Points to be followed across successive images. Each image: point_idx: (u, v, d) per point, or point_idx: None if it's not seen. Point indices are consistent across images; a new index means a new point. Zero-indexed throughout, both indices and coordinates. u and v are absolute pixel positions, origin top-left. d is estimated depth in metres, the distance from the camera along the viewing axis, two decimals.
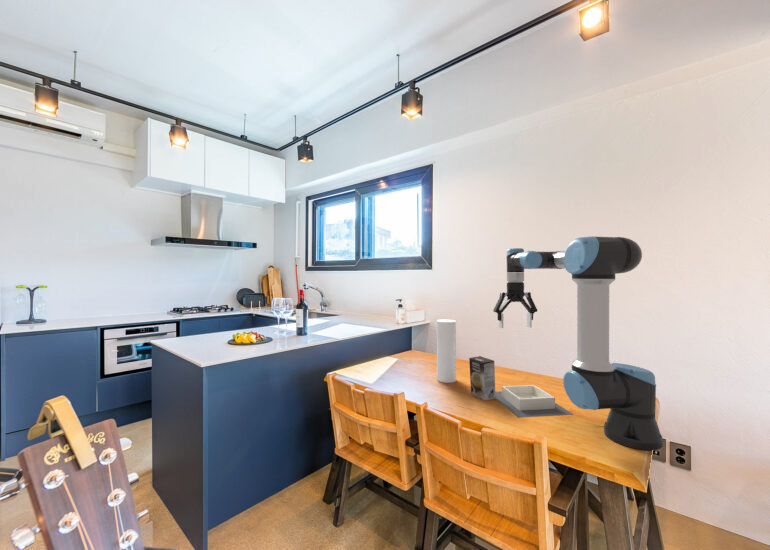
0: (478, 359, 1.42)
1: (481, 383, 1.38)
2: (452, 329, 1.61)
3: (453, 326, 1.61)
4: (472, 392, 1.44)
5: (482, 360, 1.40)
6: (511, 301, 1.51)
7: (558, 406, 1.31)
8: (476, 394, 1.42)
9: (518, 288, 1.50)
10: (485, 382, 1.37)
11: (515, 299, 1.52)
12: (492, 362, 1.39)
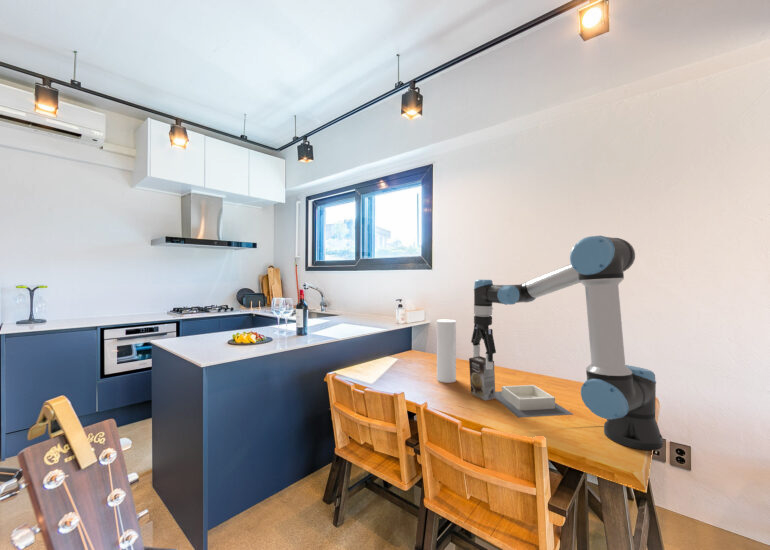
0: (478, 359, 1.41)
1: (481, 383, 1.38)
2: (452, 329, 1.61)
3: (453, 326, 1.61)
4: (472, 392, 1.44)
5: (482, 360, 1.40)
6: (476, 334, 1.45)
7: (558, 406, 1.31)
8: (476, 394, 1.42)
9: (474, 322, 1.42)
10: (485, 382, 1.37)
11: (479, 333, 1.43)
12: None
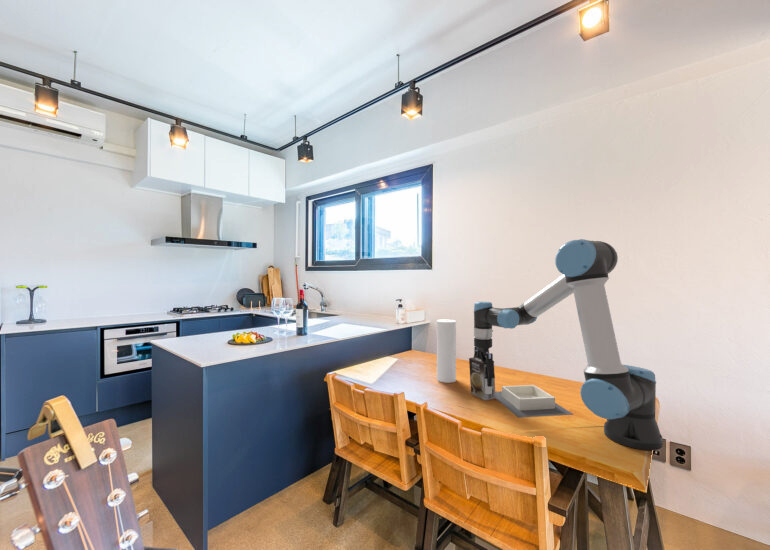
0: (478, 359, 1.41)
1: (481, 383, 1.38)
2: (452, 329, 1.61)
3: (453, 326, 1.61)
4: (472, 392, 1.44)
5: None
6: (477, 357, 1.44)
7: (558, 406, 1.31)
8: (476, 394, 1.42)
9: (474, 344, 1.42)
10: None
11: (480, 355, 1.43)
12: None
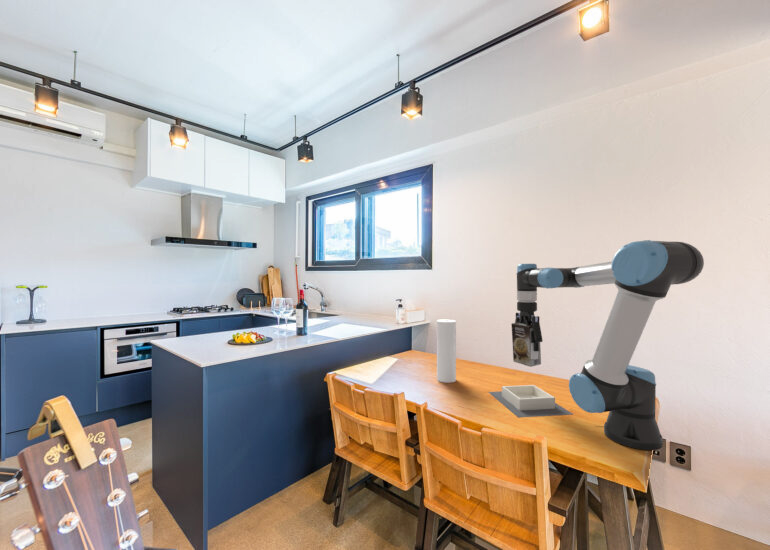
0: (522, 324, 1.34)
1: (526, 348, 1.31)
2: (452, 329, 1.61)
3: (453, 326, 1.61)
4: (515, 359, 1.36)
5: (526, 325, 1.32)
6: None
7: (558, 406, 1.31)
8: (520, 361, 1.34)
9: (517, 308, 1.35)
10: None
11: (523, 320, 1.35)
12: None
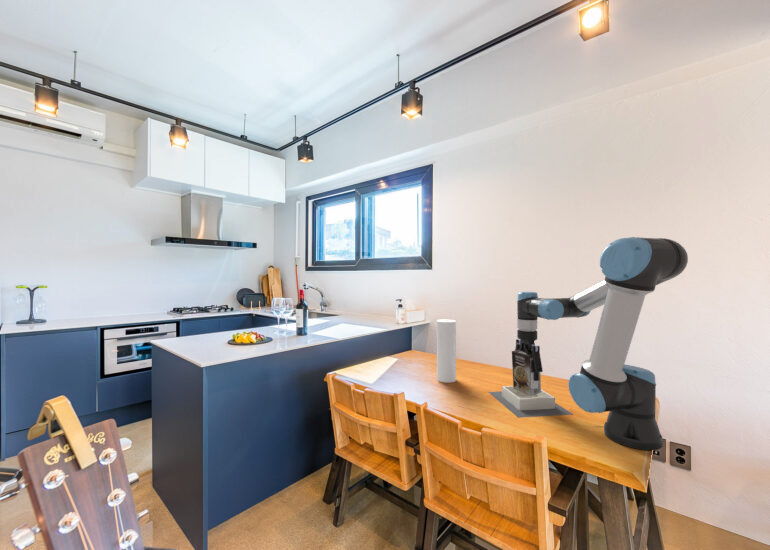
0: (522, 352, 1.34)
1: (526, 377, 1.31)
2: (452, 329, 1.61)
3: (453, 326, 1.61)
4: (515, 387, 1.37)
5: None
6: (520, 350, 1.37)
7: (558, 406, 1.31)
8: (520, 389, 1.34)
9: (518, 336, 1.35)
10: None
11: (523, 348, 1.35)
12: None
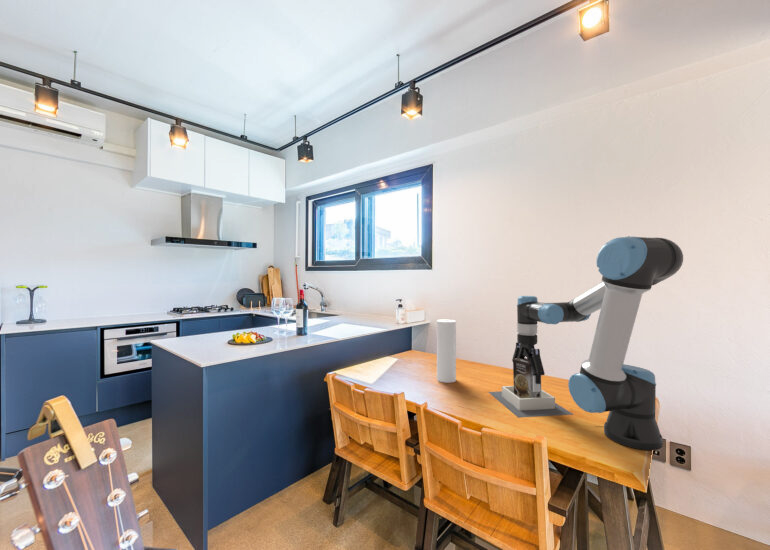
0: (523, 360, 1.35)
1: (527, 385, 1.31)
2: (452, 329, 1.61)
3: (453, 326, 1.61)
4: None
5: (528, 361, 1.33)
6: (519, 354, 1.37)
7: (558, 406, 1.31)
8: (520, 397, 1.34)
9: (518, 340, 1.35)
10: (531, 385, 1.30)
11: (523, 353, 1.35)
12: None
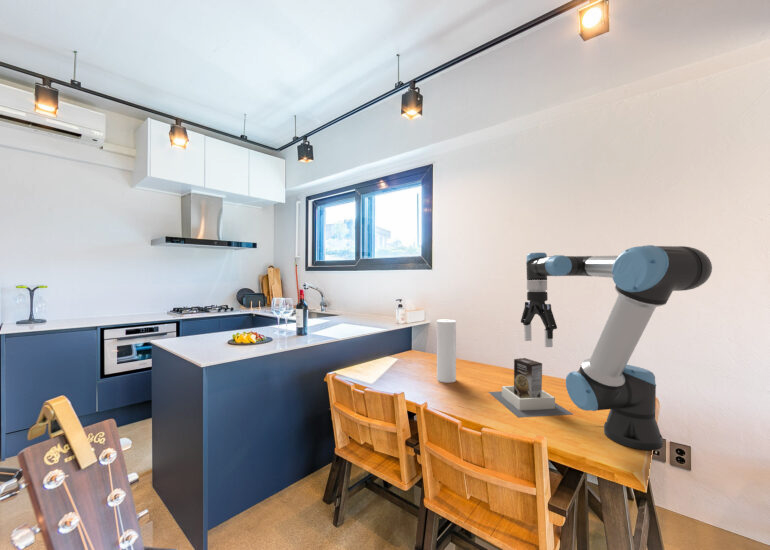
0: (524, 361, 1.34)
1: (527, 386, 1.31)
2: (452, 329, 1.61)
3: (453, 326, 1.61)
4: None
5: (529, 362, 1.33)
6: (529, 312, 1.36)
7: (558, 406, 1.31)
8: None
9: (528, 298, 1.33)
10: (532, 385, 1.30)
11: (533, 310, 1.34)
12: (540, 365, 1.31)
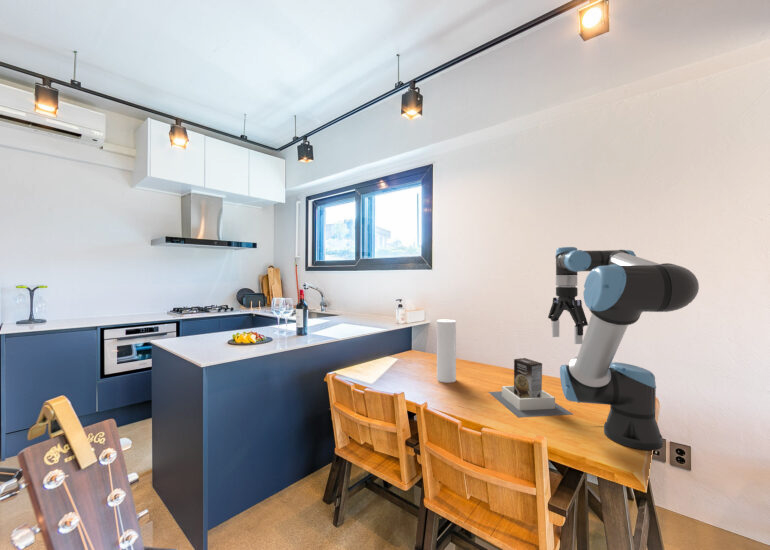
0: (524, 361, 1.34)
1: (527, 386, 1.31)
2: (452, 329, 1.61)
3: (453, 326, 1.61)
4: None
5: (529, 362, 1.33)
6: (557, 308, 1.33)
7: (558, 406, 1.31)
8: None
9: (557, 293, 1.30)
10: (532, 385, 1.30)
11: (562, 306, 1.31)
12: (540, 365, 1.31)
